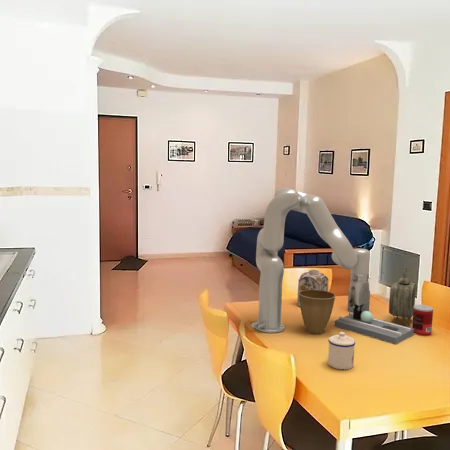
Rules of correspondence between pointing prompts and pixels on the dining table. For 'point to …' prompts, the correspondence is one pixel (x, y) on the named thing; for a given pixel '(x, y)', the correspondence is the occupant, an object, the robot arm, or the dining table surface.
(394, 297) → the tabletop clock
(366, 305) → the coffee mug
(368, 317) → the ball
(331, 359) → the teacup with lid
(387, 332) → the board
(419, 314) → the canned food
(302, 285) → the decorative jar
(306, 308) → the plant pot
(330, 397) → the dining table surface
